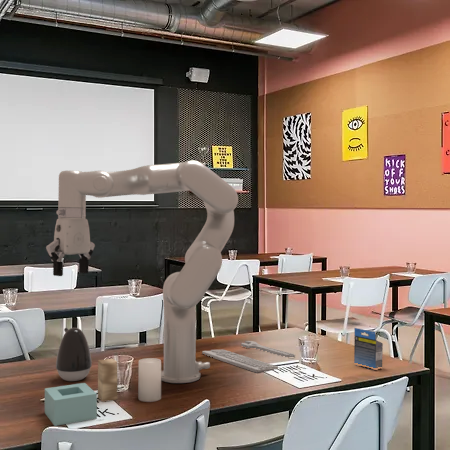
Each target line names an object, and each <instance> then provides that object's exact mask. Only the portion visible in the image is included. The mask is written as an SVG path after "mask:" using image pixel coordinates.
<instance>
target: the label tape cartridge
mask: <svg viewBox="0 0 450 450" xmlns="http://www.w3.org/2000/svg"><path fill="white" fill-rule="evenodd" d="M353 334H354V338H353V339H354V340H353V341H354V346H353V347H354V353H353V354H354V356H353V357H354V360H353V361H354V363H358V364H362V365H366V366H369V367H373V368H378V367H382V368H383V352H384V350H383V345H384V344H383V343H382V342H381V341H378V340H377V337H376V335H377V334H376V331H371V330H368V329H362V328H357V327H354V333H353ZM354 363H353V364H354Z"/></svg>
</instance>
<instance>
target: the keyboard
mask: <svg viewBox="0 0 450 450" xmlns="http://www.w3.org/2000/svg"><path fill="white" fill-rule="evenodd" d="M201 353H202V355H203V354H205V355H204V356H206V355H207V357H209V356H210V358H212V357H213V358H212V359H216V360H218V361H221V362H224V363H227V364H229V365H233V366H236V367H238V368H241V369H244V370H247V371H250V372H254V373H255V374H257V373H264V371H265V372H269V370H270V371H274V369H275V370H277V369H278V368H279V367H278V365H274V364H270V363H267V362H265V361H261V360H258V359H255V358H252V357H249V356H246V355H242V354H239V353H236V352H232V351H230V350H226V349H210V350H202V352H201Z"/></svg>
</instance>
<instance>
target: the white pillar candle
mask: <svg viewBox="0 0 450 450" xmlns="http://www.w3.org/2000/svg"><path fill="white" fill-rule="evenodd" d="M161 371H162V359H160V358H156V357H148V358H147V357H146V358H142V359H141V358H140V359H139V360H138V374H137V375H138V381H137V383H138V386H137V387H138V391H137V392H138V393H137V394H138V395H137V396H138V401H141V402H146V403H153V402H157V401H160V400H161V399H162V380H161Z"/></svg>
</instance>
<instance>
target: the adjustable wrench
mask: <svg viewBox="0 0 450 450" xmlns="http://www.w3.org/2000/svg"><path fill="white" fill-rule="evenodd" d="M241 346H243V347H246V348H256V349H255V350H257V349H260V350H259V351H261V350H263V351H262V352H265V351H267V352H266V353H268V352H270V353H269V354H272V353H273V355H275V354H277V356H279V355H281V356H280V357H283V356H285V357H284V358H286V357H295V358H296V354H294V353H291V352H287V351H284V350H281V349H277V348H274V347H273V348H272V347H269V346H264V345H262V344H260V343H258V342H257V341H253V340H245V341H244V342H241V344H240V347H241ZM243 347H242V348H243ZM246 348H245V349H246Z"/></svg>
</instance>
